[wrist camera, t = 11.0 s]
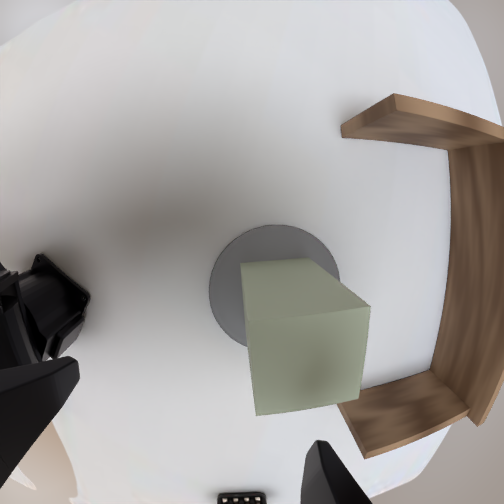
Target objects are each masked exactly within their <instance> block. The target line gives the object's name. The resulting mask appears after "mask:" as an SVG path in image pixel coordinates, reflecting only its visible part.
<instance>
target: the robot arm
mask: <svg viewBox="0 0 504 504" xmlns="http://www.w3.org/2000/svg"><path fill="white" fill-rule="evenodd" d="M39 258H40V259H41V261H40V259H39ZM83 296H85V298H86V300H85V299H84V298H83ZM89 301H90V295H89V294H88V292H86V291H85V290H84V289H83V288H81V287H80V286H79V285H78V284H76V283H75V282H74V281H73V280H72V279H70V278H69V277H68V276H67V275H66V274H65V273H63V272H62V271H61V270H60V269H59V268H58V267H57V266H55V265H54V264H53V263H52V262H51V261H50V260H49V259H48V258H46V257H45V256H44V255H43V254H42V253H40V254H37V255H36V256H35V259H34V262H33V265H32V268H31V270H29V271H26V272H24V273H22V274H19V275H18V271H12V272H10V271H7V269H5V268H4V267H3V265H2V264H1V263H0V488H1V487H2V486H3V484H4V483H5V481H6V480H7V479H8V477H9V476H10V475H11V473H12V471H13V470H14V469H15V467H16V466H17V465H18V463H19V462H20V460H21V459H22V458H23V457H24V455H25V454H26V452H27V451H28V450H29V449H30V447H31V446H32V445H33V443H34V442H35V441H36V439H37V438H38V437H39V436H40V434H41V433H42V432H43V431H44V429H45V428H46V427H47V425H48V424H49V423H50V422H51V420H52V419H53V418H54V417H55V416H56V414H57V413H58V412H59V410H60V409H61V408H62V406H63V405H64V403H65V402H66V400H67V399H68V397H69V395H70V394H71V392H72V391H73V389H74V388H75V386H76V384H77V383H78V381H79V379H80V373H79V365H78V361H77V360H76V359H74V358H72V357H70V356H66V357H61V358H58V357H59V356H60V355H61V354H62V353H63V352H64V351H65V350H66V349H67V348H68V347H69V346H70V345H71V344H72V343H73V342H74V341H75V340H76V339H77V337H78V335H79V332H80V330H81V328H82V325H83V323H84V321H85V319H84V316H83V314H84V312H85V310H86V308H87V305H88V303H89ZM49 357H51V358H52V360H48V361H46V360H47V359H48V358H49ZM301 504H372V502H371V501H370V500H369V498H368V497H367V496H366V494H365V493H364V492H363V490H362V489H361V488H360V486H359V485H358V483H357V482H356V481H355V479H354V478H353V477H352V475H351V474H350V472H349V471H348V470H347V468H346V467H345V465H344V464H343V463H342V461H341V460H340V458H339V457H338V456H337V454H336V453H335V451H334V450H333V448H332V447H331V445H330V444H329V443H328V442H327V441H322V440H316V441H315V442H314V443H313V445H312V446H311V448H310V449H309V451H308V452H307V455H306V459H305V466H304V473H303V480H302V487H301Z"/></svg>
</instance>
